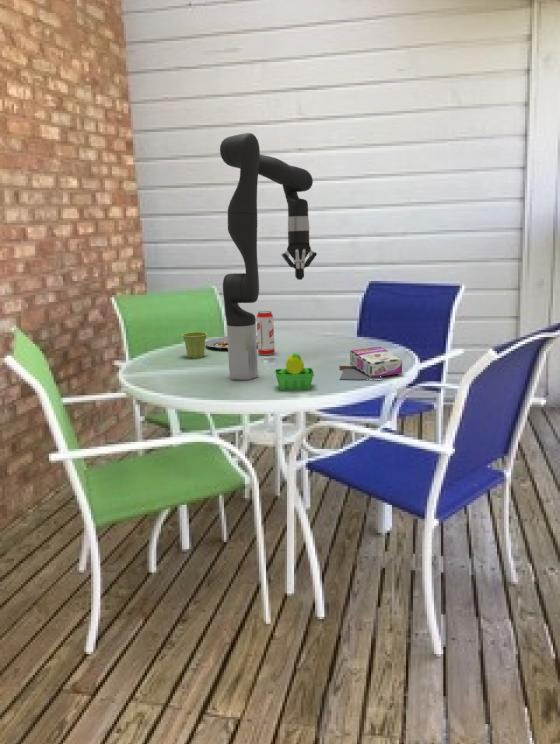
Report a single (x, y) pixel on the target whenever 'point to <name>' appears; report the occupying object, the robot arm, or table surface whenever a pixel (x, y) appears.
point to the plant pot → (195, 343)
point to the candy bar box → (376, 362)
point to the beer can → (265, 333)
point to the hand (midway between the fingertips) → (299, 279)
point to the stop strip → (347, 367)
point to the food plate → (221, 342)
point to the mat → (355, 375)
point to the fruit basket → (294, 374)
